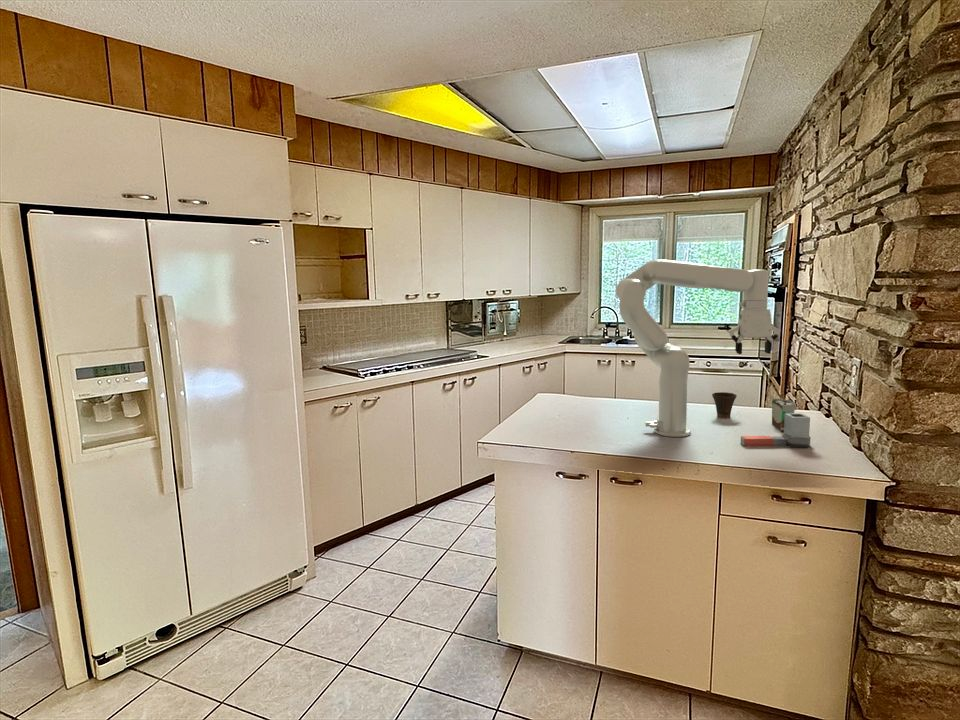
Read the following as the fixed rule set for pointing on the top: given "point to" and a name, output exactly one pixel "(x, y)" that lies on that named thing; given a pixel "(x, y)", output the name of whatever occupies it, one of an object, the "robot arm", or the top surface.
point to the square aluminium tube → (796, 425)
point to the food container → (781, 412)
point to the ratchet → (775, 441)
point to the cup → (724, 403)
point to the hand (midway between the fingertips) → (753, 353)
